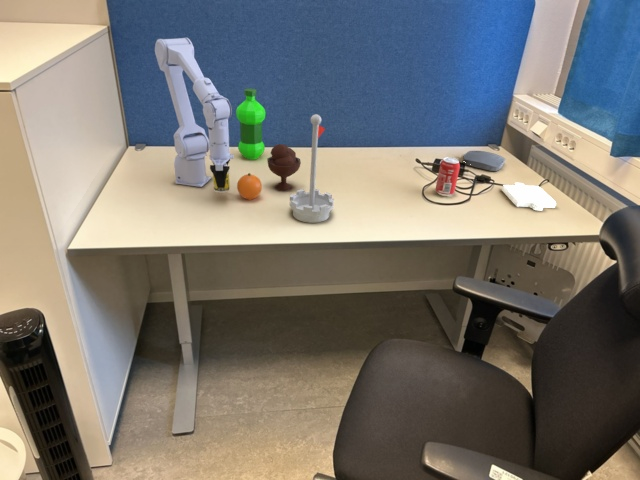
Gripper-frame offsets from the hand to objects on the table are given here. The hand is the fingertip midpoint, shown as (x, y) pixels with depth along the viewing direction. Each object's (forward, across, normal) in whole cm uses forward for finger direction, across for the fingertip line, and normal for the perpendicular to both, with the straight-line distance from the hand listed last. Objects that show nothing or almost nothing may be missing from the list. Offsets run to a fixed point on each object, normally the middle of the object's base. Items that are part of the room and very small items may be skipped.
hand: (221, 183), depth 144 cm
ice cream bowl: (+5, +8, -20) cm, 22 cm away
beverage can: (+5, +2, -74) cm, 74 cm away
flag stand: (+5, -12, -27) cm, 30 cm away
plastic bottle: (+5, +36, -10) cm, 37 cm away
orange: (+5, 0, -8) cm, 10 cm away
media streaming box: (+5, +29, -101) cm, 105 cm away
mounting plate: (+5, -3, -102) cm, 102 cm away
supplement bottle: (+2, 0, 0) cm, 2 cm away
